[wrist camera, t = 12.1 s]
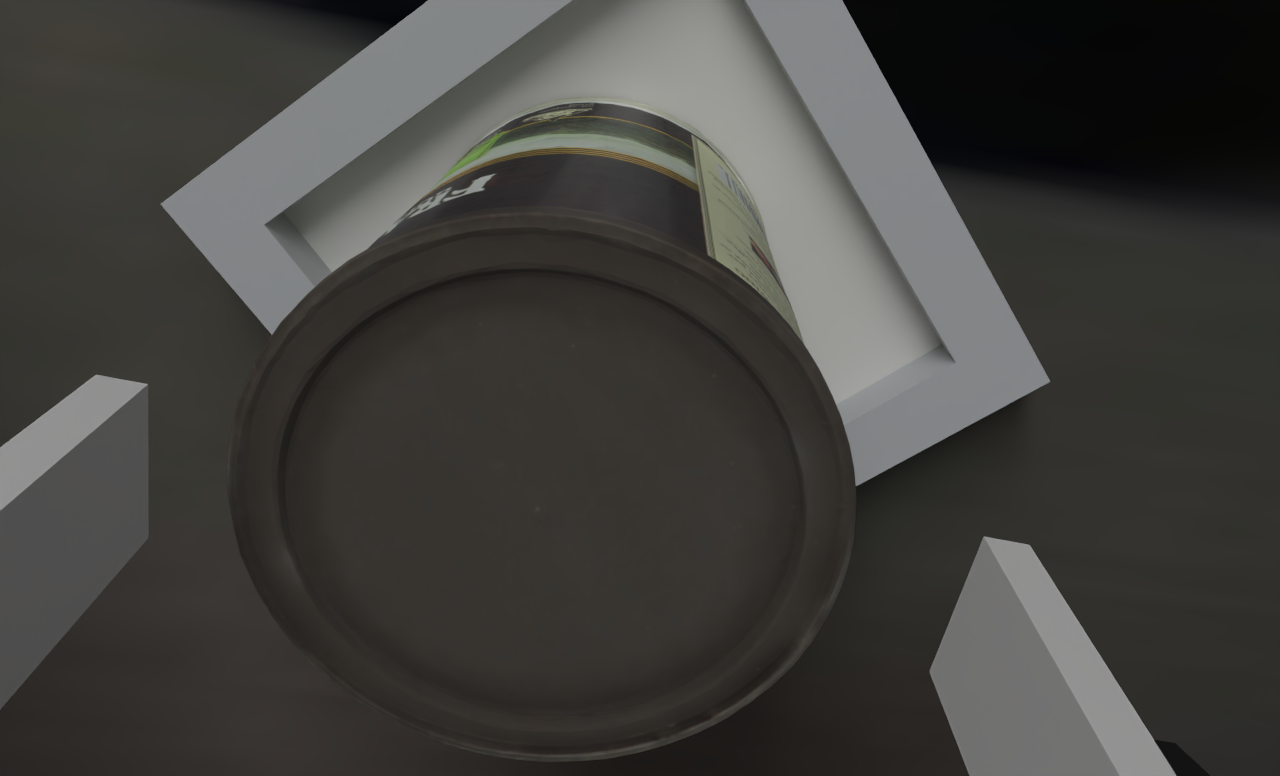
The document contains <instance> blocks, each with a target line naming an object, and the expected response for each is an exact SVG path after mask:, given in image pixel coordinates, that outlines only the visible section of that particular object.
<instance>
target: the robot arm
mask: <svg viewBox="0 0 1280 776" xmlns="http://www.w3.org/2000/svg"><path fill="white" fill-rule="evenodd" d="M147 539H148V384H144V383H138V382H133V381H127V380H122V379H116V378H111V377H105V376H100V375H95V376H94V377H92V378H91V379H90V380H89V381H87V382H86V383H85V384H83V385H82V386H81V387H79V388H78V389H77V390H75V391H74V392H73V393H71V394H70V395H69V396H67V397H66V398H65V399H63V400H62V401H61V402H60V403H58V404H57V405H56V406H54V407H53V408H52V409H50V410H49V411H48V412H46V413H45V414H44V415H42V416H41V417H40V418H38V419H37V420H36V421H34V422H33V423H32V424H31V425H29V426H28V427H27V428H25V429H24V430H23V431H21V432H20V433H19V434H17V435H16V436H15V437H13V438H12V439H11V440H9V441H8V442H7V443H5V444H4V445H3V446H1V447H0V709H1V708H2V707H3V706H4V705H5V703H6V702H7V701H8V700H9V699H10V698H11V696H12V695H13V694H14V693H15V692H16V691H17V690H18V688H19V687H20V686H21V685H22V684H23V683H24V681H25V680H26V679H27V678H28V677H29V676H30V674H31V673H32V672H33V671H34V670H35V669H36V667H37V666H38V665H39V664H40V663H41V662H42V661H43V659H44V658H45V657H46V656H47V655H48V654H49V652H50V651H51V650H52V649H53V648H54V647H55V645H56V644H57V643H58V642H59V641H60V640H61V638H62V637H63V636H64V635H65V634H66V633H67V632H68V630H69V629H70V628H71V627H72V626H73V625H74V623H75V622H76V621H77V620H78V619H79V618H80V616H81V615H82V614H83V613H84V612H85V611H86V609H87V608H88V607H89V606H90V605H91V604H92V603H93V601H94V600H95V599H96V598H97V597H98V596H99V594H100V593H101V592H102V591H103V590H104V589H105V587H106V586H107V585H108V584H109V583H110V582H111V580H112V579H113V578H114V577H115V576H116V575H117V573H118V572H119V571H120V570H121V569H122V568H123V567H124V565H125V564H126V563H127V562H128V561H129V560H130V558H131V557H132V556H133V555H134V554H135V553H136V551H137V550H138V549H139V548H140V547H141V546H142V544H143V543H144V542H145V541H146V540H147ZM929 672H930V675H931V677H932V680H933V682H934V685H935V687H936V690H937V693H938V695H939V698H940V700H941V703H942V706H943V708H944V711H945V713H946V716H947V719H948V721H949V724H950V726H951V729H952V732H953V734H954V737H955V739H956V742H957V745H958V747H959V750H960V752H961V755H962V758H963V760H964V763H965V765H966V768H967V770H968V773H969V776H1210V775H1209V774H1208V773H1207V772H1206V771H1205V770H1204V769H1202V768H1201V767H1200V766H1199V765H1198V764H1197V763H1196V762H1195V761H1194V760H1193V759H1192V758H1191V757H1190V756H1188V755H1187V754H1186V753H1185V752H1184V751H1183V750H1182V749H1181V748H1180V747H1179V746H1178V745H1177V744H1175V743H1171V742H1165V741H1159V740H1154V739H1153V738H1152V736H1151V735H1150V733H1149V732H1148V730H1147V728H1146V727H1145V725H1144V724H1143V722H1142V721H1141V719H1140V717H1139V716H1138V714H1137V713H1136V711H1135V710H1134V708H1133V707H1132V705H1131V703H1130V702H1129V700H1128V699H1127V697H1126V696H1125V694H1124V692H1123V691H1122V689H1121V688H1120V686H1119V685H1118V683H1117V681H1116V680H1115V678H1114V677H1113V675H1112V674H1111V672H1110V670H1109V669H1108V667H1107V666H1106V664H1105V663H1104V661H1103V659H1102V658H1101V656H1100V655H1099V653H1098V652H1097V650H1096V648H1095V647H1094V645H1093V644H1092V642H1091V641H1090V639H1089V637H1088V636H1087V634H1086V633H1085V631H1084V630H1083V628H1082V626H1081V625H1080V623H1079V622H1078V620H1077V619H1076V617H1075V616H1074V614H1073V612H1072V611H1071V609H1070V608H1069V606H1068V605H1067V603H1066V601H1065V600H1064V598H1063V597H1062V595H1061V594H1060V592H1059V590H1058V589H1057V587H1056V586H1055V584H1054V583H1053V581H1052V579H1051V578H1050V576H1049V575H1048V573H1047V572H1046V570H1045V568H1044V567H1043V565H1042V564H1041V562H1040V561H1039V559H1038V557H1037V556H1036V554H1035V553H1034V551H1033V550H1032V548H1031V546H1030V545H1027V544H1021V543H1016V542H1010V541H1005V540H1000V539H994V538H989V537H983V540H982V542H981V545H980V547H979V550H978V552H977V555H976V557H975V560H974V562H973V565H972V567H971V570H970V572H969V575H968V577H967V580H966V582H965V584H964V587H963V589H962V592H961V594H960V597H959V599H958V602H957V604H956V607H955V609H954V612H953V614H952V617H951V619H950V622H949V624H948V627H947V629H946V632H945V634H944V637H943V639H942V642H941V644H940V647H939V649H938V651H937V654H936V656H935V659H934V661H933V664H932V666H931V669H930V671H929Z"/></svg>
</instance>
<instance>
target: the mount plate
mask: <svg viewBox="0 0 1280 776" xmlns="http://www.w3.org/2000/svg"><path fill="white" fill-rule="evenodd" d="M578 97H605V98H615V99H622V100H628V101H632V102H636V103H640V104H644V105H647V106H650V107H653V108H655V109H658V110H661V111H663V112H665V113H668V114H670V115H672V116H673V117H675V118H677V119H679V120H681V121H683V122H685V123H687V124H689V125H690V126H692V127H693V128H695V129H697V130H698V131H699V132H700V133H701V134H702V135H703V136H704V137H705V138H707V139H708V140H710V141H711V142H712V143H713V144H714V145H715V146H716V147H717V148H718V149H719V150H720V151H721V152H722V153H723V154H724V155H725V156H726V157H727V159H728V160H729V161H730V162H731V163H732V165H733V166H734V167H735V168H736V170H737V171H738V173H739V174H740V175H741V177H742V178H743V180H744V182H745V183H746V185H747V187H748V188H749V190H750V192H751V194H752V195H753V197H754V200H755V202H756V205H757V207H758V210H759V212H760V215H761V218H762V221H763V224H764V227H765V232H766V237H767V241H768V244H769V248H770V250H771V253H772V256H773V259H774V262H775V265H776V269H777V271H778V274H779V277H780V279H781V282H782V285H783V288H784V290H785V293H786V295H787V297H788V300H789V302H790V304H791V307H792V310H793V312H794V315H795V318H796V321H797V324H798V327H799V330H800V333H801V336H802V339H803V342H804V345H805V347H806V348H807V350H808V351H809V353H810V354H811V356H812V358H813V359H814V361H815V363H816V364H817V366H818V368H819V369H820V371H821V373H822V375H823V377H824V379H825V381H826V383H827V385H828V387H829V389H830V392H831V394H832V396H833V398H834V401H835V403H836V405H837V408H838V410H839V413H840V415H841V417H842V421H843V424H844V428H845V431H846V434H847V438H848V441H849V444H850V449H851V454H852V460H853V465H854V472H855V483H856V486H858V485H860V484H862V483H863V482H865V481H867V480H869V479H871V478H873V477H875V476H876V475H878V474H880V473H882V472H884V471H886V470H887V469H889V468H891V467H893V466H895V465H897V464H899V463H900V462H902V461H904V460H906V459H908V458H910V457H912V456H913V455H915V454H917V453H919V452H921V451H923V450H925V449H926V448H928V447H930V446H932V445H934V444H936V443H937V442H939V441H941V440H943V439H945V438H947V437H949V436H950V435H952V434H954V433H956V432H958V431H960V430H962V429H963V428H965V427H967V426H969V425H971V424H973V423H975V422H976V421H978V420H980V419H982V418H984V417H986V416H987V415H989V414H991V413H993V412H995V411H997V410H999V409H1000V408H1002V407H1004V406H1006V405H1008V404H1010V403H1012V402H1013V401H1015V400H1017V399H1019V398H1021V397H1023V396H1024V395H1026V394H1028V393H1030V392H1032V391H1034V390H1036V389H1037V388H1039V387H1041V386H1043V385H1045V384H1047V383H1049V382H1050V380H1049V378H1048V377H1047V375H1046V373H1045V371H1044V369H1043V367H1042V366H1041V364H1040V362H1039V360H1038V358H1037V356H1036V355H1035V353H1034V351H1033V349H1032V347H1031V345H1030V344H1029V342H1028V340H1027V338H1026V336H1025V334H1024V333H1023V331H1022V329H1021V327H1020V325H1019V323H1018V322H1017V320H1016V318H1015V316H1014V314H1013V312H1012V311H1011V309H1010V307H1009V305H1008V303H1007V301H1006V300H1005V298H1004V296H1003V294H1002V292H1001V290H1000V289H999V287H998V285H997V283H996V281H995V280H994V278H993V276H992V274H991V272H990V270H989V269H988V267H987V265H986V263H985V261H984V259H983V258H982V256H981V254H980V252H979V250H978V248H977V247H976V245H975V243H974V241H973V239H972V237H971V236H970V234H969V232H968V230H967V228H966V226H965V225H964V223H963V221H962V219H961V217H960V215H959V214H958V212H957V210H956V208H955V206H954V204H953V203H952V201H951V199H950V197H949V195H948V193H947V192H946V190H945V188H944V186H943V184H942V182H941V181H940V179H939V177H938V175H937V173H936V171H935V170H934V168H933V166H932V164H931V162H930V160H929V159H928V157H927V155H926V153H925V151H924V149H923V148H922V146H921V144H920V142H919V140H918V138H917V137H916V135H915V133H914V131H913V129H912V127H911V126H910V124H909V122H908V120H907V118H906V116H905V115H904V113H903V111H902V109H901V107H900V105H899V104H898V102H897V100H896V98H895V96H894V94H893V93H892V91H891V89H890V87H889V85H888V83H887V82H886V80H885V78H884V76H883V74H882V72H881V71H880V69H879V67H878V65H877V63H876V62H875V60H874V58H873V56H872V54H871V52H870V51H869V49H868V47H867V45H866V43H865V41H864V40H863V38H862V36H861V34H860V32H859V30H858V29H857V27H856V25H855V23H854V21H853V19H852V18H851V16H850V14H849V12H848V10H847V8H846V7H845V5H844V3H843V1H842V0H428V1H427V2H426V3H424V4H423V5H422V6H420V7H419V8H418V9H416V10H415V11H414V12H413V13H411V14H410V15H409V16H407V17H406V18H405V19H403V20H402V21H401V22H399V23H398V24H397V25H395V26H394V27H393V28H391V29H390V30H389V31H388V32H386V33H385V34H384V35H382V36H381V37H380V38H378V39H377V40H376V41H374V42H373V43H372V44H370V45H369V46H368V47H366V48H365V49H364V50H363V51H361V52H360V53H359V54H357V55H356V56H355V57H353V58H352V59H351V60H349V61H348V62H347V63H345V64H344V65H343V66H341V67H340V68H339V69H338V70H336V71H335V72H334V73H332V74H331V75H330V76H328V77H327V78H326V79H324V80H323V81H322V82H320V83H319V84H318V85H316V86H315V87H314V88H313V89H311V90H310V91H309V92H307V93H306V94H305V95H303V96H302V97H301V98H299V99H298V100H297V101H295V102H294V103H293V104H292V105H290V106H289V107H288V108H286V109H285V110H284V111H282V112H281V113H280V114H278V115H277V116H276V117H274V118H273V119H272V120H270V121H269V122H268V123H267V124H265V125H264V126H263V127H261V128H260V129H259V130H257V131H256V132H255V133H253V134H252V135H251V136H249V137H248V138H247V139H245V140H244V141H243V142H242V143H240V144H239V145H238V146H236V147H235V148H234V149H232V150H231V151H230V152H228V153H227V154H226V155H224V156H223V157H222V158H220V159H219V160H218V161H217V162H215V163H214V164H213V165H211V166H210V167H209V168H207V169H206V170H205V171H203V172H202V173H201V174H199V175H198V176H197V177H195V178H194V179H193V180H192V181H190V182H189V183H188V184H186V185H185V186H184V187H182V188H181V189H180V190H178V191H177V192H176V193H174V194H173V195H172V196H170V197H169V198H168V199H167V200H165V201H164V202H163V203H161V205H162V206H163V208H164V209H165V210H166V211H167V212H168V213H169V215H170V216H171V217H172V218H173V219H174V220H175V222H176V223H177V224H178V225H179V226H180V228H181V229H182V230H183V231H184V232H185V233H186V235H187V236H188V237H189V238H190V239H191V240H192V242H193V243H194V244H195V245H196V246H197V247H198V249H199V250H200V251H201V252H202V253H203V254H204V256H205V257H206V258H207V259H208V260H209V262H210V263H211V264H212V265H213V266H214V267H215V269H216V270H217V271H218V272H219V273H220V274H221V276H222V277H223V278H224V279H225V280H226V281H227V283H228V284H229V285H230V286H231V287H232V288H233V290H234V291H235V292H236V293H237V294H238V296H239V297H240V298H241V299H242V300H243V301H244V303H245V304H246V305H247V306H248V307H249V308H250V310H251V311H252V312H253V313H254V314H255V315H256V317H257V318H258V319H259V320H260V321H261V323H262V324H263V325H264V326H265V327H266V328H267V330H268V331H269V332H270V333H271V334H273V333H274V331H275V330H276V328H277V327H278V326H279V324H280V323H281V321H282V320H283V319H284V318H285V317H286V316H287V315H288V314H289V313H290V312H291V311H292V310H293V309H294V308H295V307H296V305H297V304H298V303H299V302H300V301H301V300H302V299H303V298H304V297H305V296H306V295H307V294H308V293H309V292H310V291H311V290H312V289H313V288H314V287H315V286H317V285H318V284H319V283H320V282H321V281H322V280H323V279H324V278H326V277H327V276H328V275H330V274H331V273H332V272H333V271H335V270H336V269H337V268H339V267H340V266H341V265H343V264H344V263H345V262H347V261H348V260H350V259H351V258H353V257H355V256H356V255H358V254H360V253H361V252H363V251H365V250H367V249H368V248H369V247H370V246H371V245H372V244H373V243H374V242H375V241H376V240H377V239H378V238H379V237H380V236H381V235H382V234H383V233H384V232H385V231H386V230H387V229H389V228H390V227H391V226H392V225H393V224H394V223H395V222H396V221H397V220H398V219H399V218H401V217H402V216H403V215H404V214H405V213H406V212H407V211H408V210H409V209H410V208H411V207H412V206H413V205H414V204H416V203H417V202H418V201H419V200H420V199H421V198H422V197H423V196H424V195H425V194H426V193H427V192H428V191H429V190H430V189H431V188H432V187H433V186H434V185H435V184H436V183H437V182H438V181H440V180H441V179H442V178H443V177H444V176H445V175H446V174H447V172H448V171H449V170H450V168H451V167H452V166H453V165H454V164H455V162H456V161H457V160H458V159H459V158H460V156H461V155H462V154H463V153H464V152H465V151H466V150H467V149H468V148H469V147H470V146H471V145H472V144H473V143H474V142H475V141H476V140H477V139H478V138H479V137H481V136H482V135H483V134H484V133H486V132H487V131H488V130H490V129H491V128H493V127H494V126H495V125H497V124H498V123H500V122H502V121H504V120H505V119H507V118H509V117H511V116H513V115H515V114H516V113H518V112H521V111H523V110H526V109H528V108H531V107H534V106H537V105H540V104H542V103H545V102H550V101H554V100H558V99H565V98H578Z"/></svg>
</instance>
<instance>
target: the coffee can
mask: <svg viewBox="0 0 1280 776" xmlns="http://www.w3.org/2000/svg"><path fill="white" fill-rule="evenodd" d="M227 482H228V497H229V504H230V509H231V514H232V520H233V525H234V530H235V535H236V539H237V542H238V546H239V550H240V554H241V557H242V559H243V561H244V564H245V566H246V568H247V570H248V573H249V575H250V577H251V579H252V581H253V584H254V586H255V588H256V590H257V592H258V594H259V595H260V597H261V599H262V600H263V602H264V603H265V604H266V606H267V607H268V609H269V611H270V613H271V615H272V617H273V618H274V619H275V621H276V622H277V624H278V625H279V626H280V628H281V629H282V630H283V632H284V633H285V635H286V636H287V637H288V639H289V640H290V641H291V643H292V644H293V645H294V646H295V647H296V648H297V649H298V650H299V651H300V652H301V653H302V654H303V655H304V656H305V657H306V659H307V660H308V661H309V662H310V663H311V664H312V665H314V666H315V667H316V668H317V669H318V670H319V671H320V672H321V673H322V674H323V675H324V676H326V677H327V678H328V679H329V680H330V681H331V682H333V683H334V684H335V685H336V686H337V687H339V688H340V689H341V690H343V691H344V692H345V693H347V694H349V695H350V696H352V697H354V698H355V699H356V700H357V701H358V702H360V703H362V704H364V705H365V706H367V707H368V708H369V709H371V710H372V711H374V712H376V713H377V714H379V715H381V716H383V717H384V718H386V719H388V720H390V721H392V722H394V723H396V724H399V725H401V726H403V727H405V728H407V729H409V730H411V731H413V732H415V733H417V734H420V735H423V736H426V737H428V738H431V739H433V740H436V741H439V742H441V743H444V744H447V745H451V746H454V747H458V748H461V749H465V750H469V751H473V752H476V753H481V754H486V755H491V756H496V757H501V758H509V759H517V760H528V761H539V762H566V761H588V760H599V759H610V758H615V757H620V756H625V755H630V754H635V753H639V752H643V751H647V750H650V749H654V748H657V747H661V746H664V745H667V744H670V743H673V742H675V741H678V740H681V739H684V738H686V737H689V736H691V735H694V734H696V733H699V732H701V731H703V730H705V729H707V728H709V727H711V726H713V725H715V724H717V723H719V722H720V721H722V720H724V719H726V718H728V717H729V716H731V715H732V714H734V713H735V712H737V711H738V710H739V709H741V708H742V707H744V706H746V705H748V704H749V703H750V702H752V701H753V700H755V699H756V697H757V696H759V695H760V694H762V693H764V692H765V691H766V690H767V689H768V688H770V687H771V686H772V685H773V684H774V683H775V682H776V681H778V680H779V679H780V678H781V677H782V676H783V675H784V674H785V673H786V672H787V671H788V670H789V669H790V668H791V667H792V666H793V665H794V664H795V663H796V662H797V660H798V659H799V658H800V657H801V655H802V654H803V653H804V651H805V650H806V649H807V647H808V646H809V645H810V644H811V642H812V641H813V639H814V638H815V637H816V635H817V633H818V632H819V630H820V628H821V627H822V625H823V623H824V622H825V620H826V618H827V616H828V615H829V613H830V611H831V609H832V607H833V605H834V603H835V601H836V598H837V596H838V594H839V591H840V589H841V586H842V583H843V580H844V577H845V574H846V571H847V568H848V564H849V560H850V556H851V552H852V548H853V544H854V534H855V523H856V483H855V472H854V465H853V460H852V454H851V449H850V444H849V441H848V438H847V434H846V431H845V428H844V424H843V421H842V417H841V415H840V413H839V410H838V408H837V405H836V403H835V401H834V398H833V396H832V394H831V392H830V389H829V387H828V385H827V383H826V381H825V379H824V377H823V375H822V373H821V371H820V369H819V368H818V366H817V364H816V363H815V361H814V359H813V358H812V356H811V354H810V353H809V351H808V350H807V348H806V347H805V345H804V342H803V339H802V336H801V333H800V330H799V327H798V324H797V321H796V318H795V315H794V312H793V310H792V307H791V304H790V302H789V300H788V297H787V295H786V293H785V290H784V288H783V285H782V282H781V279H780V277H779V274H778V271H777V269H776V265H775V262H774V259H773V256H772V253H771V250H770V248H769V244H768V241H767V237H766V232H765V227H764V224H763V221H762V218H761V215H760V212H759V210H758V207H757V205H756V202H755V200H754V197H753V195H752V194H751V192H750V190H749V188H748V187H747V185H746V183H745V182H744V180H743V178H742V177H741V175H740V174H739V173H738V171H737V170H736V168H735V167H734V166H733V165H732V163H731V162H730V161H729V160H728V159H727V157H726V156H725V155H724V154H723V153H722V152H721V151H720V150H719V149H718V148H717V147H716V146H715V145H714V144H713V143H712V142H711V141H710V140H708V139H707V138H705V137H704V136H703V135H702V134H701V133H700V132H699V131H698V130H697V129H695V128H693V127H692V126H690V125H689V124H687V123H685V122H683V121H681V120H679V119H677V118H675V117H673V116H672V115H670V114H668V113H665V112H663V111H661V110H658V109H655V108H653V107H650V106H647V105H644V104H640V103H636V102H632V101H628V100H622V99H615V98H605V97H578V98H565V99H558V100H554V101H550V102H545V103H542V104H540V105H537V106H534V107H531V108H528V109H526V110H523V111H521V112H518V113H516V114H515V115H513V116H511V117H509V118H507V119H505V120H504V121H502V122H500V123H498V124H497V125H495V126H494V127H493V128H491V129H490V130H488V131H487V132H486V133H484V134H483V135H482V136H481V137H479V138H478V139H477V140H476V141H475V142H474V143H473V144H472V145H471V146H470V147H469V148H468V149H467V150H466V151H465V152H464V153H463V154H462V155H461V156H460V158H459V159H458V160H457V161H456V162H455V164H454V165H453V166H452V167H451V168H450V170H449V171H448V172H447V174H446V175H445V176H444V177H443V178H442V179H441V180H440V181H438V182H437V183H436V184H435V185H434V186H433V187H432V188H431V189H430V190H429V191H428V192H427V193H426V194H425V195H424V196H423V197H422V198H421V199H420V200H419V201H418V202H417V203H416V204H414V205H413V206H412V207H411V208H410V209H409V210H408V211H407V212H406V213H405V214H404V215H403V216H402V217H401V218H399V219H398V220H397V221H396V222H395V223H394V224H393V225H392V226H391V227H390V228H389V229H387V230H386V231H385V232H384V233H383V234H382V235H381V236H380V237H379V238H378V239H377V240H376V241H375V242H374V243H373V244H372V245H371V246H370V247H369V248H368V249H367V250H365V251H363V252H361V253H360V254H358V255H356V256H355V257H353V258H351V259H350V260H348V261H347V262H345V263H344V264H343V265H341V266H340V267H339V268H337V269H336V270H335V271H333V272H332V273H331V274H330V275H328V276H327V277H326V278H324V279H323V280H322V281H321V282H320V283H319V284H318V285H317V286H315V287H314V288H313V289H312V290H311V291H310V292H309V293H308V294H307V295H306V296H305V297H304V298H303V299H302V300H301V301H300V302H299V303H298V304H297V305H296V307H295V308H294V309H293V310H292V311H291V312H290V313H289V314H288V315H287V316H286V317H285V318H284V319H283V320H282V321H281V323H280V324H279V326H278V327H277V328H276V330H275V331H274V333H273V334H272V336H271V337H270V339H269V340H268V342H267V343H266V345H265V347H264V348H263V350H262V352H261V353H260V355H259V357H258V359H257V360H256V362H255V364H254V366H253V367H252V369H251V372H250V374H249V377H248V380H247V382H246V384H245V386H244V389H243V391H242V393H241V395H240V398H239V400H238V403H237V407H236V411H235V416H234V420H233V424H232V430H231V437H230V444H229V452H228V465H227Z"/></svg>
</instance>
